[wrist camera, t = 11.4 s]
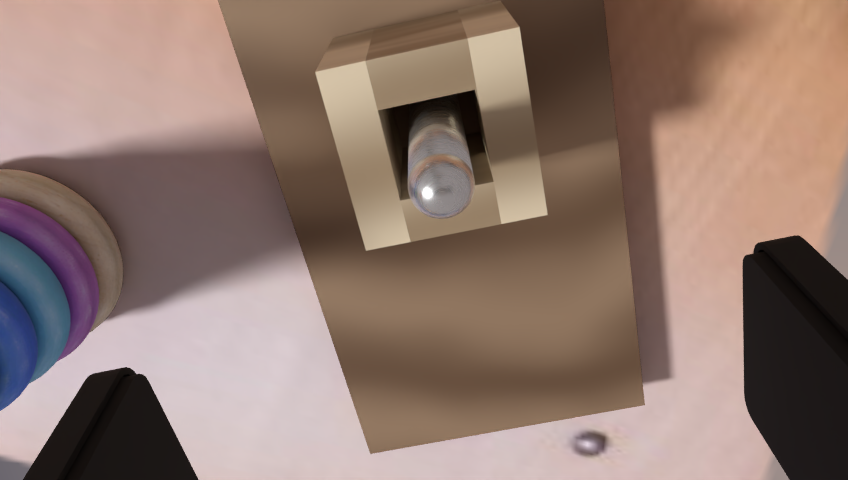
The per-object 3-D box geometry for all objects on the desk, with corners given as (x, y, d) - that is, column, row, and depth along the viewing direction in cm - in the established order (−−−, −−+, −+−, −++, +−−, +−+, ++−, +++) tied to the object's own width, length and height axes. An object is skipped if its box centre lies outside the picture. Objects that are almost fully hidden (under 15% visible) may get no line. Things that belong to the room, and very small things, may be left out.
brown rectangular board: (219, -31, 25) (209, -26, 24) (581, -119, 24) (591, -118, 23) (372, 432, 35) (370, 453, 34) (635, 384, 34) (644, 405, 33)
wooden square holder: (332, 37, 25) (315, 72, 21) (500, 0, 25) (519, 26, 20) (373, 191, 28) (365, 250, 23) (525, 160, 27) (547, 215, 23)
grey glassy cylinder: (404, 84, 26) (400, 174, 18) (452, 73, 26) (470, 159, 18) (415, 130, 27) (416, 236, 19) (462, 120, 27) (483, 222, 19)
